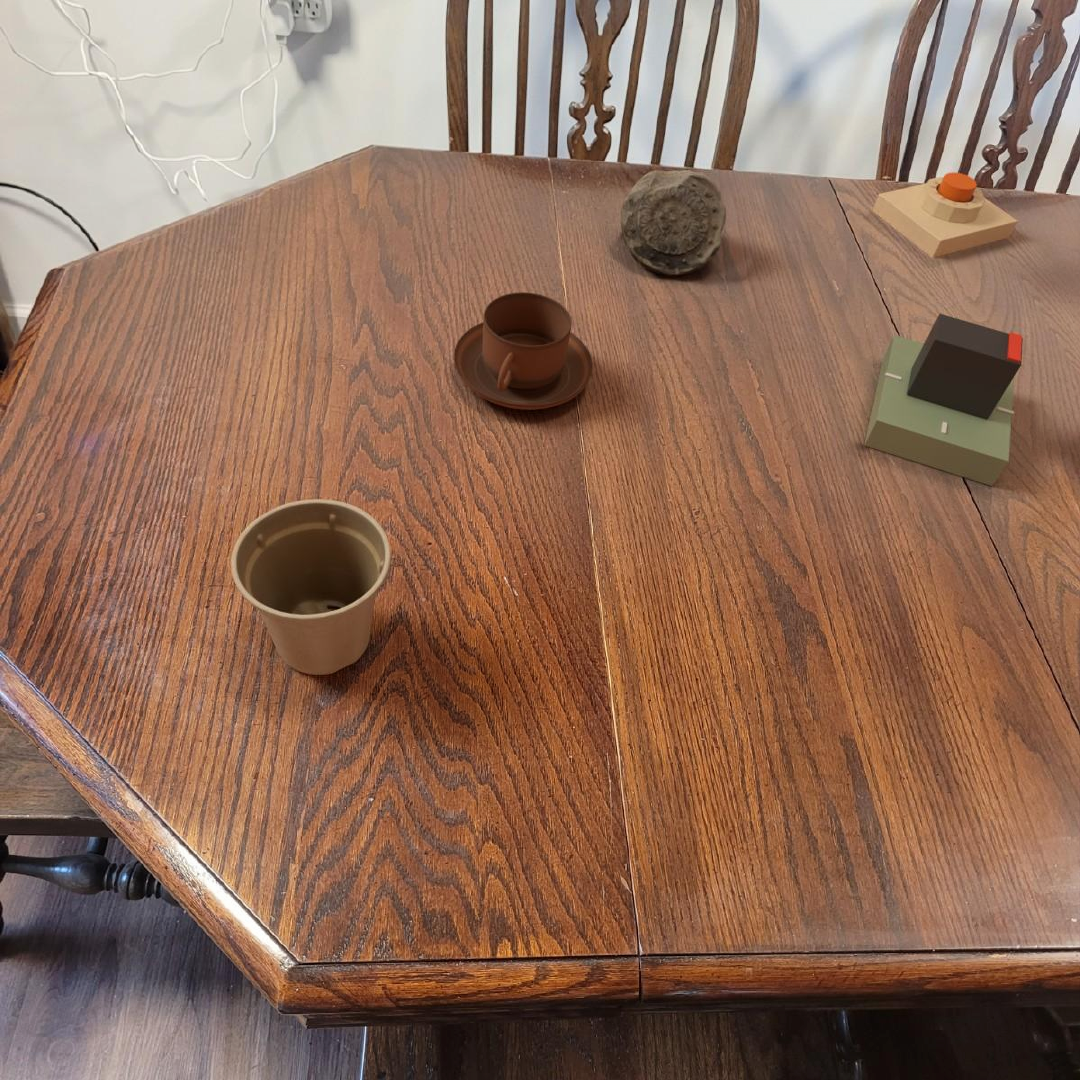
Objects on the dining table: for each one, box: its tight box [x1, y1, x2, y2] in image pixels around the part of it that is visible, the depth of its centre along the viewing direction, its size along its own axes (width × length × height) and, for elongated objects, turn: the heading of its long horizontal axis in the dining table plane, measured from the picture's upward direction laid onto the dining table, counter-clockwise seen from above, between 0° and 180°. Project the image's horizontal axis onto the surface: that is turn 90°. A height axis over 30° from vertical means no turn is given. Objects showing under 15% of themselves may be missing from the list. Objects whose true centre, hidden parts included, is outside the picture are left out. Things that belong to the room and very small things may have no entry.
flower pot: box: [230, 498, 392, 676], centre depth 60 cm, size 9×9×9 cm
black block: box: [907, 313, 1024, 419], centre depth 80 cm, size 7×4×6 cm, turn 69°
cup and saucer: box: [453, 291, 593, 411], centre depth 80 cm, size 12×12×6 cm
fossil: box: [620, 169, 727, 277], centre depth 96 cm, size 11×9×10 cm
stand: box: [863, 334, 1015, 487], centre depth 83 cm, size 13×11×3 cm
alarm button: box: [938, 172, 978, 203], centre depth 104 cm, size 4×4×2 cm
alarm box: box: [871, 176, 1018, 259], centre depth 106 cm, size 12×10×4 cm
